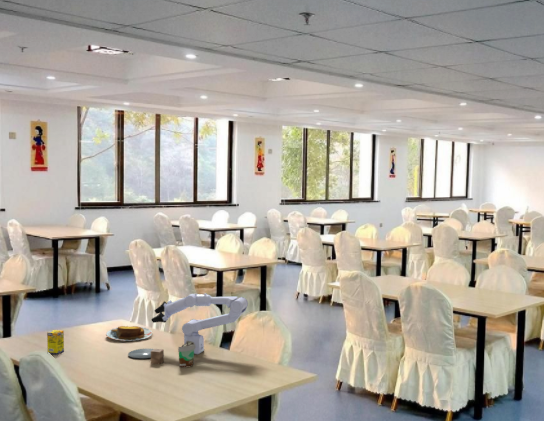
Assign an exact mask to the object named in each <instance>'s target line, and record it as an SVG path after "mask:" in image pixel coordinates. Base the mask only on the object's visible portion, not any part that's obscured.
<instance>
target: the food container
mask: <svg viewBox="0 0 544 421" xmlns="http://www.w3.org/2000/svg"><path fill="white" fill-rule="evenodd" d="M195 348H196V347H195V344H194V342H192V341H186V343H185V344H184V343H182V345H181V346H178V348H177V349H178V362H179V363H178V366H179V368H188V367H189V366H190V367H192V366H193V365H194V357H195V354H194V349H195Z"/></svg>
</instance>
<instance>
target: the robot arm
mask: <svg viewBox="0 0 544 421" xmlns="http://www.w3.org/2000/svg"><path fill="white" fill-rule="evenodd" d="M212 304H213V305H225V306H227V308H228V309H229V308H230V309H229V312H228V313H225V314H221V315H217V316H212V317H207V318H203V319H201V318H200V319H196V318H195V319H194V318H193V319H190V320H189V321H188V322H186V323H184V324H183V325H182V328H181V331H182V333H183V344H185V343H186V341H192V342H194V344H195V347H196V348H195V349H194V355H199V354H201V353H202V352H203V351H205V348H204V347H205V346H204V345H205V341H204V340H205V339H204V336H203V335H202V334H199V331H202V330H206V329H210V328H214V327H220V326H223V325H227V324H233V323H235V322H237V321H238V320H239V319H240V317H241V316H242V315H243V313H245V312H246V310H247V308H248V304H249V302H248V299H246V298H245V297H244V296H240V297H239V296H236V295H235V296H212V295H210V294H208V293H203V294H198V293H190V294H188V295H187V296H184V297H181V298H179V299H176V300H175V301H173V302H172V300H168V301H167V302H166V301H165V300H163V302H162V303H161V304H160V305H159V306H158V307H157V308H155V309H154V312H155V314H157V315H155V316H154V317H152V318H151V322H152V323H153V324H154V323H167V321H168V319H169V318H170V317H171V316H173V315H175V314H177V313H180V312H182V311H185V310H186V309H189V308H193V307H194V306H196V307H210V306H211V305H212Z"/></svg>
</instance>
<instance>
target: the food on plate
mask: <svg viewBox="0 0 544 421" xmlns="http://www.w3.org/2000/svg"><path fill="white" fill-rule="evenodd" d="M152 335H153V330H152V329H149V328H147V327H143V326H139V325H138V326H136V325H133V326H128V325H127V326H125V325H121V326H118V327H115V328H112V329H110V330H107V331H106V334H105V336H106V337H107V339H109V340H110V339H111V340H116V341H117V340H118V341H122V342H123V341H124V342H132V341H139V340H144V339H148V338H150V337H152ZM144 336H145V337H144Z"/></svg>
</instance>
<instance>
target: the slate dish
mask: <svg viewBox="0 0 544 421" xmlns="http://www.w3.org/2000/svg"><path fill="white" fill-rule="evenodd" d="M154 349H155V348H139V349H134V350H130V351H129V352H128V354H127V355H128V357H130V358H134V359H151V351H152V350H154Z"/></svg>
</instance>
